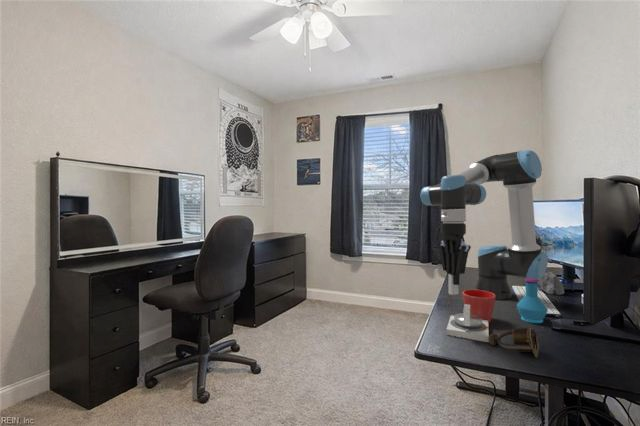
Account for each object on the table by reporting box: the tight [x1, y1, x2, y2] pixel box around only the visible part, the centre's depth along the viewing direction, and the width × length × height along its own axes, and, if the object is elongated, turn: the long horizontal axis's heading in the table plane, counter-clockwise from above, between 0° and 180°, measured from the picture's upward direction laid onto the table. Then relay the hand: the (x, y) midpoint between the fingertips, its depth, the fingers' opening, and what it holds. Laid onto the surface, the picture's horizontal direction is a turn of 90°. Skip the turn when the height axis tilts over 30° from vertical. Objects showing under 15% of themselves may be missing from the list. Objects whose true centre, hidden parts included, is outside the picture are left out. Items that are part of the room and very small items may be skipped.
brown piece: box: [488, 327, 540, 358], centre depth 88 cm, size 7×13×10 cm
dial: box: [453, 303, 482, 328], centre depth 100 cm, size 12×8×7 cm
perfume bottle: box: [516, 278, 548, 324], centre depth 110 cm, size 9×9×15 cm
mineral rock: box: [537, 271, 565, 296], centre depth 146 cm, size 13×11×10 cm
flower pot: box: [461, 289, 496, 323], centre depth 111 cm, size 11×11×10 cm
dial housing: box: [446, 315, 490, 343], centre depth 102 cm, size 14×12×2 cm
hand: (453, 293), depth 100 cm, fingers closed
